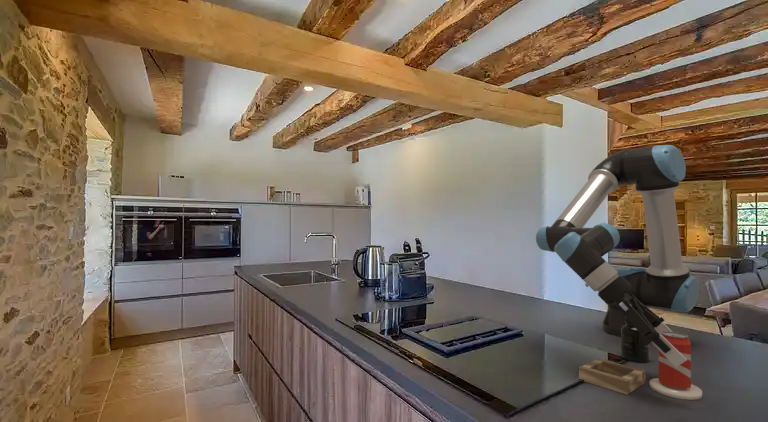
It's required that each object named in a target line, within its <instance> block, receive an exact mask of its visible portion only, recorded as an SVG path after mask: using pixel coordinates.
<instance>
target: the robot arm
mask: <svg viewBox="0 0 768 422" xmlns="http://www.w3.org/2000/svg"><path fill="white" fill-rule="evenodd" d="M686 171H687V167H686V161H685V158H684V156H683V154H682V152H681V150H679V149H678V147H677V146H674V145H672V144H663V145H662V144H661V145H652V146H647V147H640V148H639V147H638V148H633V149H624V150H620V151H617V152H615V153H612V154H611V155H610V156H608V157H606V158H604V159H603V160H602V161H601V162H599V163H598V164H597V165H596V166H595V167H594V168H593V169H592V170H591V172H590V173H589V174H588V176H587V182H586V183H585V184H584V185H583V186H582V187H581V189H580V190H579V192H578V193H577V194H576V195H575V196H574V198H572V200H571V201H570V202H569V204H568V205H567V207H565V208H564V210H563V211H562V213H561V214H560V215H559V216H558V218H557V219H555V221H554V223H552V224H551V226H542V227H540V228H539V229H538V230H537V232H536V235H535V242H536V245H537V246H538V248H539V249H540V250H542V251H547V252H552V253H556V254H557V256H558V257H559V258H560V259H561V261H562V262H563V263H565V264H566V265H567V266H568V267H569V268H570V269H571V270H572V271H573V272H574V273H575V274H576V275H577V276H578V277H579V278H580V279H581V280H583V282H584V283H585V284H584V285H585V287H586V288H588V287H589V288H590V289H592V290H593V291H594V292H598V293H597V297H599V298H600V299H601V300H602V301H603V302H604V303H605V304H606V305H607V311H606V312H605V315H604V318H603V322H602V330H603V332H605V333H608V334H610V335H614V336H619V337H621V328H622V326H623V325H625V324H626V323H625V316H626V317H627V318H628V320H629V321H630V322H631V323H632V324H633V326H634V327H635V328H636V329H637V330H638V331H639V333H640V334H641V335H642V336H643V337H644V338H645V342H646V343H647V344H649V345H650V344H652V345H653V346H654V347H655V348H656V349H657V350H658V352H659V351H660V352H661V353H662V354H663V355H664V356H665V357H666V358H667V359H668V360H669V361H670V362H671V363H672V364H673V365H674V366H675V367H677V366H679V365H680V364H682V363H683V362H685V361H687V359H686V358H685V357H684V356H683V355H682V354H681V353H680V352H679V351H678V350H677V349H676V348H675V347H674V346H673V345H671V344H670V343H669V342H668V341H667V340H666V339H665V338H664V337H663V336H662V334H661V333H662V332H664V331H670V332H673V330H671V329H670V328H669V327H668V326H667V325H666V324H665V323H664V322H665V321H666V320H665V319H664V317H662V316H659V315H658V314H656V313H655V312H653V311H652V310H651V309H650V308H654V309H659V310H666V311H671V312H679V313H688V312H690V311H691V310H693V308H694V307H695V306H696V305H697V301H698V298H699V293H700V282H699V280H698V278H697V277H695V276H692V275H690V270H689V268H688V267H687V266H685V265H684V264H683V259H682V258H683V257H682V250H681V241H680V232H679V223H678V215H677V205H676V198H675V191H676V190H677V189H678V188H679V187H680V182H682V181H683V180H684V179H685V177H686ZM627 185H629V186H630V185H634V186H635V187H634V188H635V191H636V193H639V194H640V195H641V197H642V206H643V213H644V220H645V228H646V229H645V230H646V236H647V237H646V238H647V245H648V246H647V247H648V253H649V260H650V265H649V266H648V267H647V268H645V267H644V266H641V267H639V266H638V267H635V266H631V267H617V268H616V267H615V268H614V267H613V266H612V265H611V264H610V263H609V262H608V261H606V260H605V259H604V256H605V255H607V254H608V253H610V252H612V251H613V250H614V249H615V248H616V246H617V245H619V243H620V240H621V239H620V237H621V236H620V233H619V231H618V229H617V228H616V227H615V226H614V225H612V224H609V223H605V222H602V223H599V224H596V225H594V226H593V227H585V225H586V224H587V223H588V222H589V220H590V219H591V217H592V216H593V215H594V213H595V212H596V211H597V209H599V207H600V205H601V204H602V203H603V202H604V200H606V198H607V197H608V195H609V194H611V193H614V192H615V191H616V190H617V189H618V188H619V187H621V186H627ZM649 307H650V308H649Z"/></svg>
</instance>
